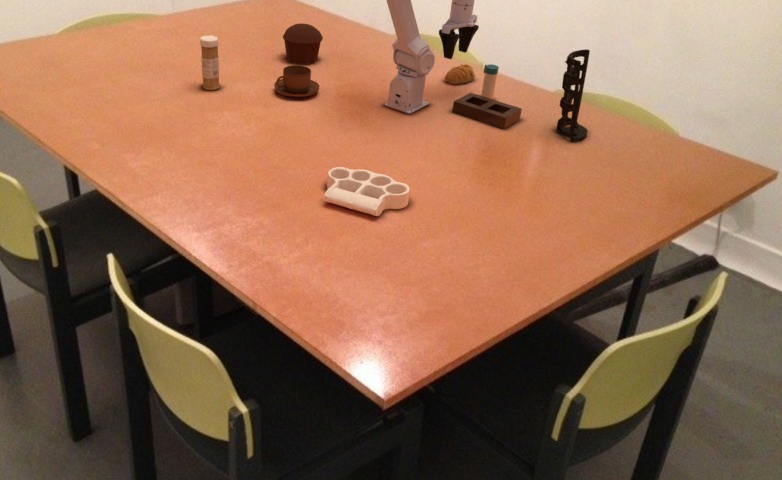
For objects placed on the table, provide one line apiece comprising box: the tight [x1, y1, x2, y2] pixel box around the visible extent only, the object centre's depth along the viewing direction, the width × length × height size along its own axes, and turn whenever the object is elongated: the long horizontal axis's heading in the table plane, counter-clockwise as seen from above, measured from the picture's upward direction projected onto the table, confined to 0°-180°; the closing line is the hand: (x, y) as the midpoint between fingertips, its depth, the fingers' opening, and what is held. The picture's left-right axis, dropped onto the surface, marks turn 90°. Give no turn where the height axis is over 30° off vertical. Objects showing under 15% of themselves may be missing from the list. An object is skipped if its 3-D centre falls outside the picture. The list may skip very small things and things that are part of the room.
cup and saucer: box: [273, 64, 320, 98], centre depth 204 cm, size 12×12×6 cm
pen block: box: [451, 92, 523, 130], centre depth 199 cm, size 9×15×3 cm, turn 52°
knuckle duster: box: [323, 166, 411, 217], centre depth 159 cm, size 3×18×15 cm
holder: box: [556, 48, 591, 143], centre depth 188 cm, size 11×8×20 cm
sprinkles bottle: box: [199, 34, 220, 91], centre depth 202 cm, size 5×5×13 cm
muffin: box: [282, 22, 324, 65], centre depth 225 cm, size 12×11×10 cm
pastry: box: [444, 63, 476, 85], centre depth 219 cm, size 9×7×4 cm
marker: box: [480, 64, 500, 100], centre depth 207 cm, size 3×4×9 cm
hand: (455, 54), depth 206 cm, fingers open, 7 cm apart
